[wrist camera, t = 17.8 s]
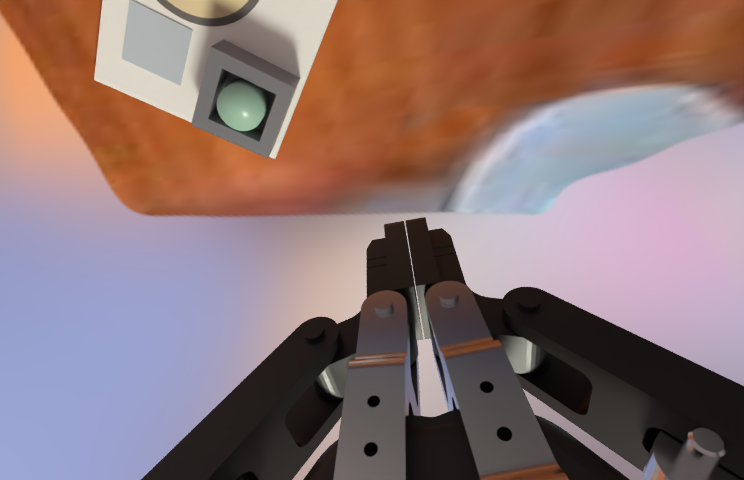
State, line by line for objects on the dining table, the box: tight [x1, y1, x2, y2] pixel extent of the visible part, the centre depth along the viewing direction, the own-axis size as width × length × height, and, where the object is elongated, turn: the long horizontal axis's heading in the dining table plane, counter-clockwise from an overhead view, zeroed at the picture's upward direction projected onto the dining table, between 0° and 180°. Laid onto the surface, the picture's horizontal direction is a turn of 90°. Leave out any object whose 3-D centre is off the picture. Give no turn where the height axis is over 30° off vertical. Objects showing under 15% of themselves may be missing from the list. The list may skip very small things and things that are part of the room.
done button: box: [217, 78, 269, 131], centre depth 34 cm, size 4×4×3 cm
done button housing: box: [191, 40, 300, 158], centre depth 35 cm, size 7×7×4 cm
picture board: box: [94, 0, 338, 159], centre depth 33 cm, size 20×17×1 cm
